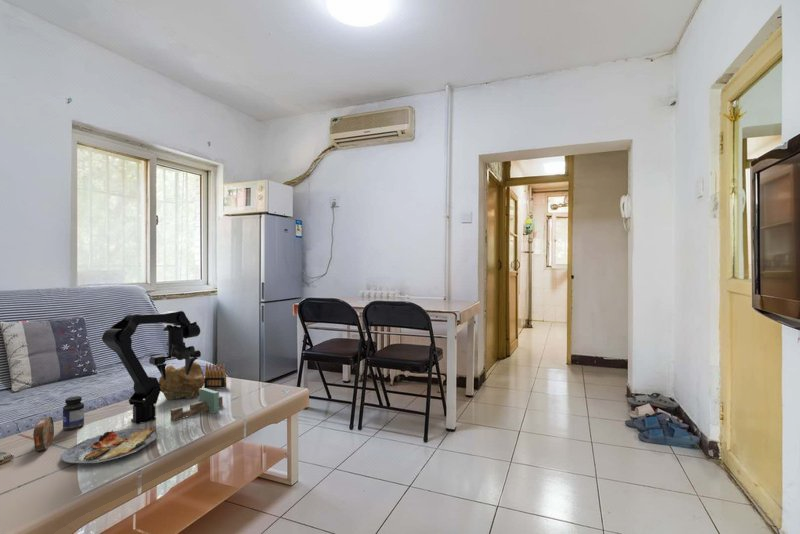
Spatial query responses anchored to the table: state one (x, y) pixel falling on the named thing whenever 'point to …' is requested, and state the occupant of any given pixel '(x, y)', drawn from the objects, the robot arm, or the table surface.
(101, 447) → the food plate
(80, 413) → the pill bottle
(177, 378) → the rough brown rock
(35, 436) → the brown patterned slab
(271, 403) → the table surface
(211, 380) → the ammunition clip
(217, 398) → the notched crosspiece
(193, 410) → the notched base plate
